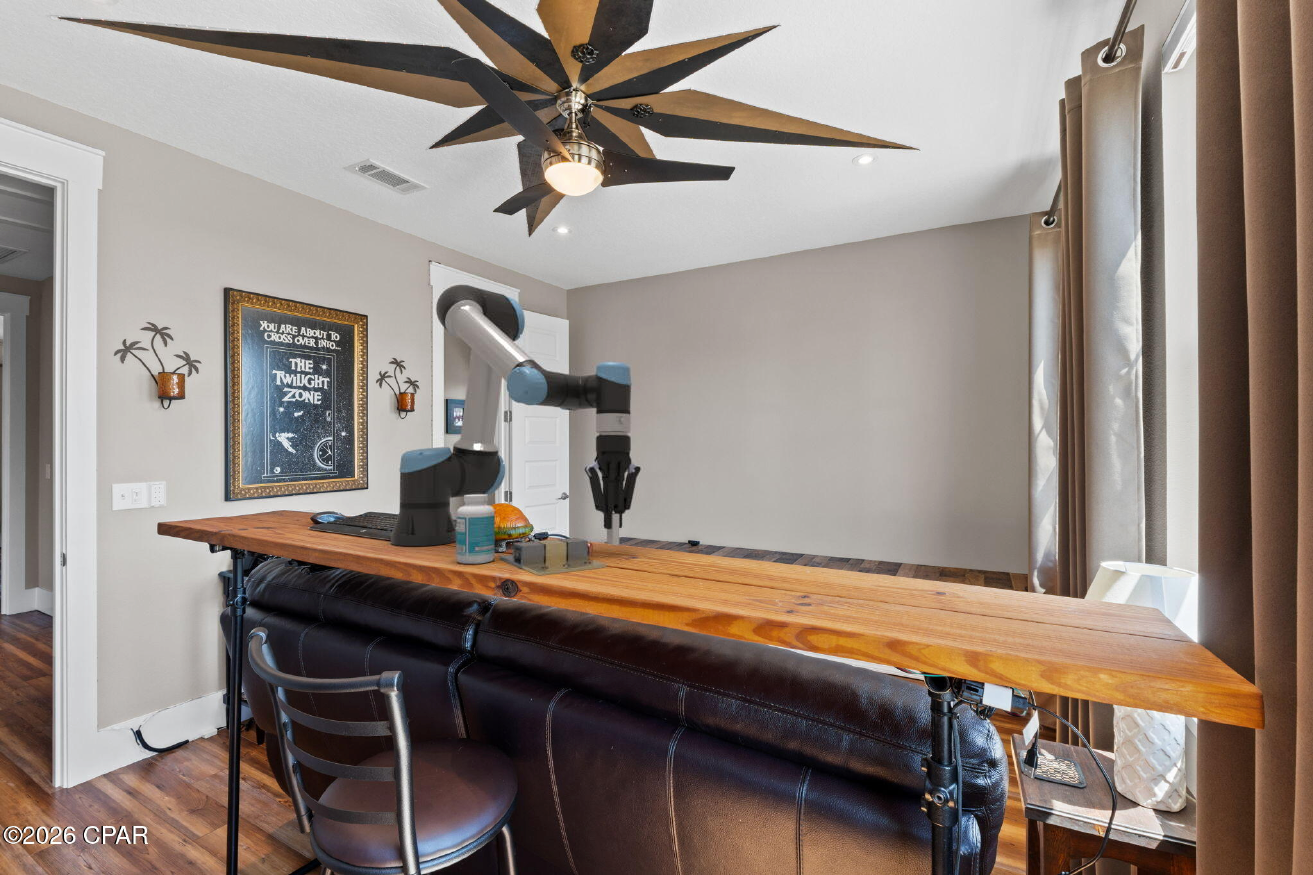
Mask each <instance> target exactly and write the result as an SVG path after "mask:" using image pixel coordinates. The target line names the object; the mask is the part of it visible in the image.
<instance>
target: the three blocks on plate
mask: <svg viewBox="0 0 1313 875" xmlns="http://www.w3.org/2000/svg"><path fill="white" fill-rule="evenodd" d="M588 542H589V541H588V540H585V539H582V538H579V537H571V538H561V539H559V538H558V539H547V540H538V541H537V540H536V541H526V542H525V541H524V542H513V544H512V546H513V548H512V554H509V555H508V554H507V555H499V558H498V559H499V561H500V560H501V561H503V562H505V563H508V564H510V565H513V566H515V567H517V568H520V569H523V570H524V571H527V572H530V573H533V574H535V575H536V576H545V575H554V574H563V573H568V572H569V573H570V572H571V573H572V572H579V571H587V570H594V569H595V570H596V569H602V568H607V563H605V562H600V561H597V560H594V559H591V558H588ZM520 551H521V560H520Z"/></svg>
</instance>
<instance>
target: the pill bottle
mask: <svg viewBox="0 0 1313 875" xmlns="http://www.w3.org/2000/svg"><path fill="white" fill-rule="evenodd" d="M488 500H489V495H483V494H478V495H464V497H463V501H464V503H465V504H463V505H462V506H461V507H459V508H458V509H457V511H456V531H457V540H456V541H455V542H456V548H455V549H456V551H455V552H456V561H457V562H458V563H459V564H463V565H477V564H480V565H481V564H485V563H489V562H490V563H491V562H492V561H494V559H495V549H496V548H495V544H496V543H495V540H496V539H495V535H496V534H495V528H496V527H495V525H496V524H495V523H496V522H495V519H496V517H495V515H496V512H495V509H494V507H492V506H491V505H488V504H487V503H488Z"/></svg>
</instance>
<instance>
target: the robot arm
mask: <svg viewBox="0 0 1313 875" xmlns="http://www.w3.org/2000/svg"><path fill="white" fill-rule="evenodd" d="M435 306H436V307H435V311H436V312H435V313H436V317H437V319H438V321H439V323H440V325H441V326H442V327H443V329H445V330H446V331H447V332H448V333H449V334H450V335H451V336H453V337H455V338H460V339H462V341H464V342H465V344H467V345H468V346H469V347H470V348H471V352H470V359H469V368H468V375H467V385H466V389H465V390H466V391H465V399H464V407H463V416H462V423H461V432H460V438H459V439H458V440H457V441H455V442H454V443H453V447H452V449H451V448H450V447H447V446H440V447H431V448H429V447H427V448H419V449H418V448H417V449H412V450H406V451H405V452H404V453H402V454H401V457H400V464H399V465H400V466H399V469H398V470H399V511H398V514H397V518H396V521H395V523H394V526H393V529H392V532H391V534H390V544H391V545H394V546H400V547H401V546H402V547H422V546H423V547H425V546H439V545H446V544H451V543H454V542H456V540H457V527H456V525H455V522H454V518H453V515H452V513H451V508H450V507H451V498H464V495H478V494H483V495H488V496H489V495H491V494H494V493H495V492H496V491H498V490H499V489H500V487H501V486H502V484H503V481H504V479H505V475H506V465H505V464H504V458H503V457H502V456H501V455H500V454H499V451H500V450H499V447H498V446H497V445H496V444H495V435H496V429H497V428H496V427H497V420H498V412H499V404H500V397H501V389H502V382H503V380H504V381H505V382H506V391H507V392H508V397H509V398H510V399H511V400H512V401H513V402H515V403H517V404H522V405H523V404H524V405H525V406H540V407H553V408H559V409H561V410H564V411H573V412H574V411H578V410H579V411H580V410H588V409H595V432H596V433H597V434H598V435H596V437H595V452H596V453H595V454H596V456H595V458H594V462H593V463H592V464H591V465H589V466H585V468H584V472H585V474H586V475H587V476H588V479H589V481H588V482H589V484H590V489H591V493H592V499H593V503H594V504H593V505H594V508H595V510H596V511H597V512H601V513H602V514H603V528H604V529H605V530H606V544H607V545H611V546H618V545H620V529H622V528H623V515H624V514H625V513H626V511H630V510H631V506H632V503H633V502H632V501H633V497H634V492H635V488H636V482H637V478H638V476H639V474H640V472H641V470H642V469H641V466H637V465H636V464H634V463H632V458H631V455H630V454H631V448H632V447H631V446H632V444H631V443H632V442H631V440H632V438H631V436H630V435H628V434H630V433H631V424H632V422H631V421H632V420H631V417H632V416H631V413H632V412H631V401H632V398H631V396H632V378H631V367H630V366H629V364H627V363H625V362H617V361H616V362H615V361H606V362H605V361H603V362H600V363H598V364H597V365H596V368H595V369H596V370H595V374H589V375H575V374H569V373H562V372H558V371H550V370H548V369H545V368H544V367H543V366H542V365H541V364H539V363H538V362H536V360H535V359H534V358H533V357H531V356H530V355H529V354H528V353H527V352H526V351H524V350H523V349H522V348H521V347H520V346H519V345H518V344H516V341H518V340H519V339H520V338H521V335H523V334H524V330H525V324H526V321H525V320H526V319H525V312H524V310H523V308H522V306H521V305H520V303H519V302H518V301H517V300H516V299H514V298H512V297H510V296H508V295H505V294H502V293H498V292H493V291H490V290H486V289H482V288H478V287H476V286H474V285H469V284H456V285H452V286H450V287H447V288H446V289H445V290H443V291H442V292H441V294H440V296H439V297H438V299H437V301H436V305H435ZM599 473H600V475H601V479H600V475H599ZM626 473H627V474H626ZM601 481H602V484H601Z"/></svg>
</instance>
